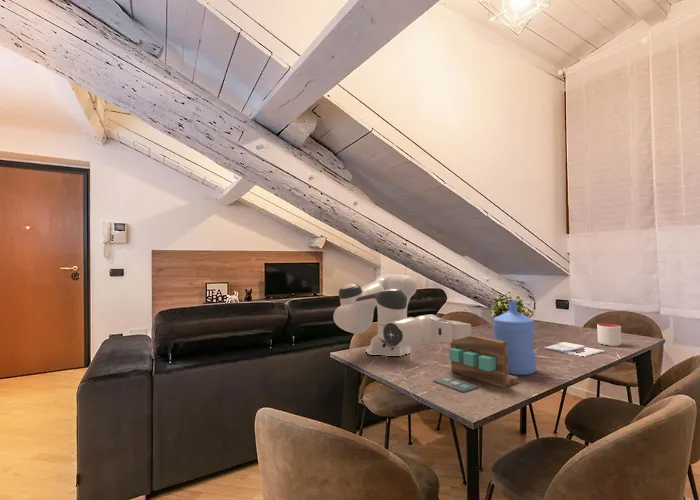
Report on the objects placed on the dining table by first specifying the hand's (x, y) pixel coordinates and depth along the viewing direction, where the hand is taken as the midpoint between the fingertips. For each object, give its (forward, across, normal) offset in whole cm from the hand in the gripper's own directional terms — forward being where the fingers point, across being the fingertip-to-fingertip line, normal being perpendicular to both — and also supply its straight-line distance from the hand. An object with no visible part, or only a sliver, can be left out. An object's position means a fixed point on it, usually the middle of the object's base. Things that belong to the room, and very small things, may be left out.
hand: (457, 323), depth 126 cm
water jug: (+39, -5, -24) cm, 46 cm away
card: (+6, -7, -24) cm, 26 cm away
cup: (+116, -1, -24) cm, 118 cm away
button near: (+17, 0, -18) cm, 25 cm away
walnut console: (+22, -7, -24) cm, 33 cm away
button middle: (+17, -7, -18) cm, 26 cm away
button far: (+17, -14, -18) cm, 28 cm away
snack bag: (+90, -6, -25) cm, 93 cm away
